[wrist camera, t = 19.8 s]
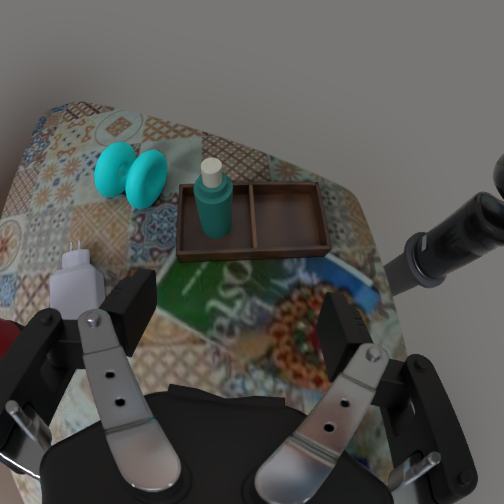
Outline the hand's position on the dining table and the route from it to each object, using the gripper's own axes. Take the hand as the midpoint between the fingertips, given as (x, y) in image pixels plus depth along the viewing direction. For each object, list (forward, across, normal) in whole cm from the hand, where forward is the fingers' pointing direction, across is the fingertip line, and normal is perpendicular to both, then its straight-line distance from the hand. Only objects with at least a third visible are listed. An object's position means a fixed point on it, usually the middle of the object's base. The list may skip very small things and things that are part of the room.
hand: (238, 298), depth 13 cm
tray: (+33, -1, +8) cm, 34 cm away
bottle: (+32, +5, +8) cm, 33 cm away
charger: (+23, +26, +18) cm, 39 cm away
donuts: (+36, +20, +4) cm, 42 cm away
